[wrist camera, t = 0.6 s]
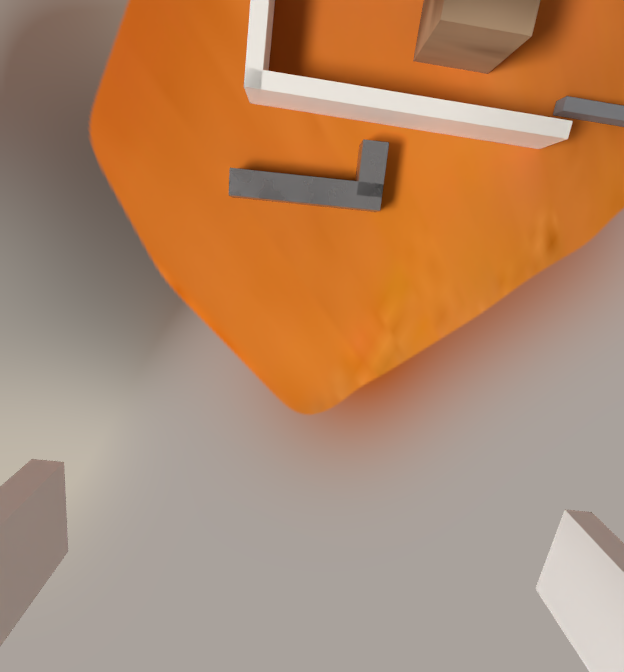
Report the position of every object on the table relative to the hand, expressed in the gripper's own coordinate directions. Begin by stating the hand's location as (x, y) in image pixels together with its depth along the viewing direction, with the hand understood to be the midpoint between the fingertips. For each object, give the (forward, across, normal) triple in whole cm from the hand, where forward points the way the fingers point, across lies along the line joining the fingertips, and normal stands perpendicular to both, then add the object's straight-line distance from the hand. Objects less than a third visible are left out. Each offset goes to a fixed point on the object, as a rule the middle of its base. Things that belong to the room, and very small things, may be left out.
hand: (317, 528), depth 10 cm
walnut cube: (+26, +9, +24) cm, 36 cm away
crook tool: (+26, -1, +12) cm, 28 cm away
